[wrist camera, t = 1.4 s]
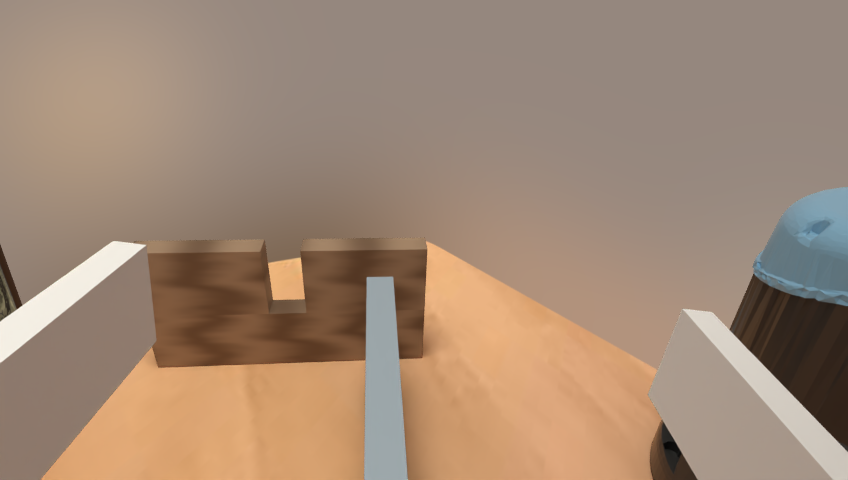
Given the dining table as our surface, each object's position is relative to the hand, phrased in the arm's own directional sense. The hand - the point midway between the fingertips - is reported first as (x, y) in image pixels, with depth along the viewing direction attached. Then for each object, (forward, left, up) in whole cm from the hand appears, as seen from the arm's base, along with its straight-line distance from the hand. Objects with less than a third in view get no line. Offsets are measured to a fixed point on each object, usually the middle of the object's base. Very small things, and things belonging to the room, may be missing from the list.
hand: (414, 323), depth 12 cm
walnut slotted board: (-4, -28, -25) cm, 38 cm away
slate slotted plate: (-5, -12, -25) cm, 28 cm away
